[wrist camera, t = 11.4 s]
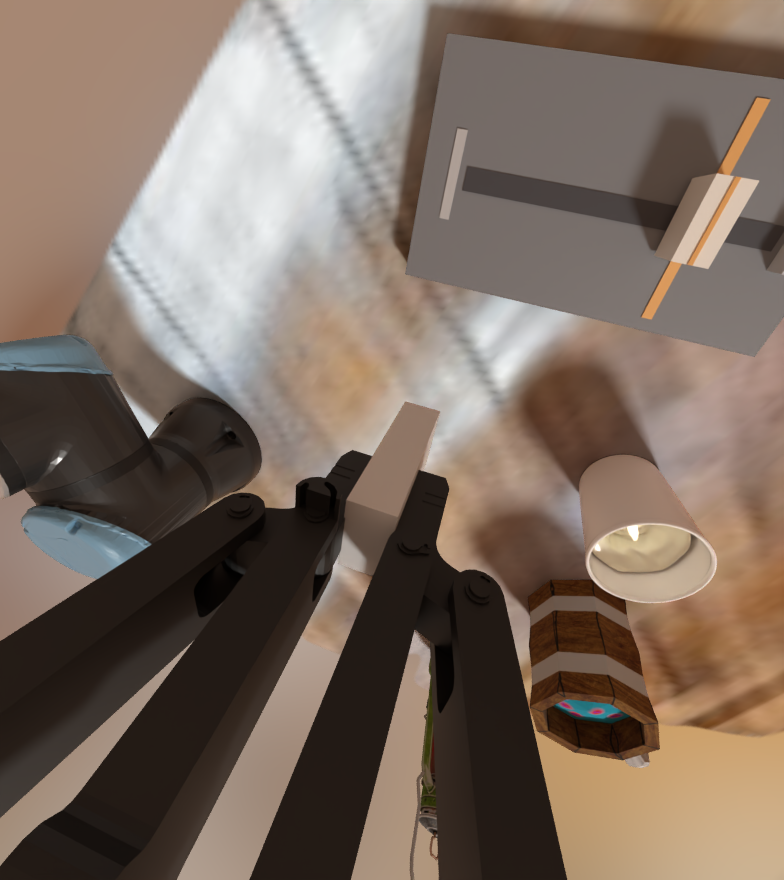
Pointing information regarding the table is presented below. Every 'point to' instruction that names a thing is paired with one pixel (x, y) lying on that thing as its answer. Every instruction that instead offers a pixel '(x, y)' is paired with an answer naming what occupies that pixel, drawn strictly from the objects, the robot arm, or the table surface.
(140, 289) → the table surface
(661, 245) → the fader
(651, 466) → the candle holder
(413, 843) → the lantern
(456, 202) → the panel
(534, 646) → the mug
